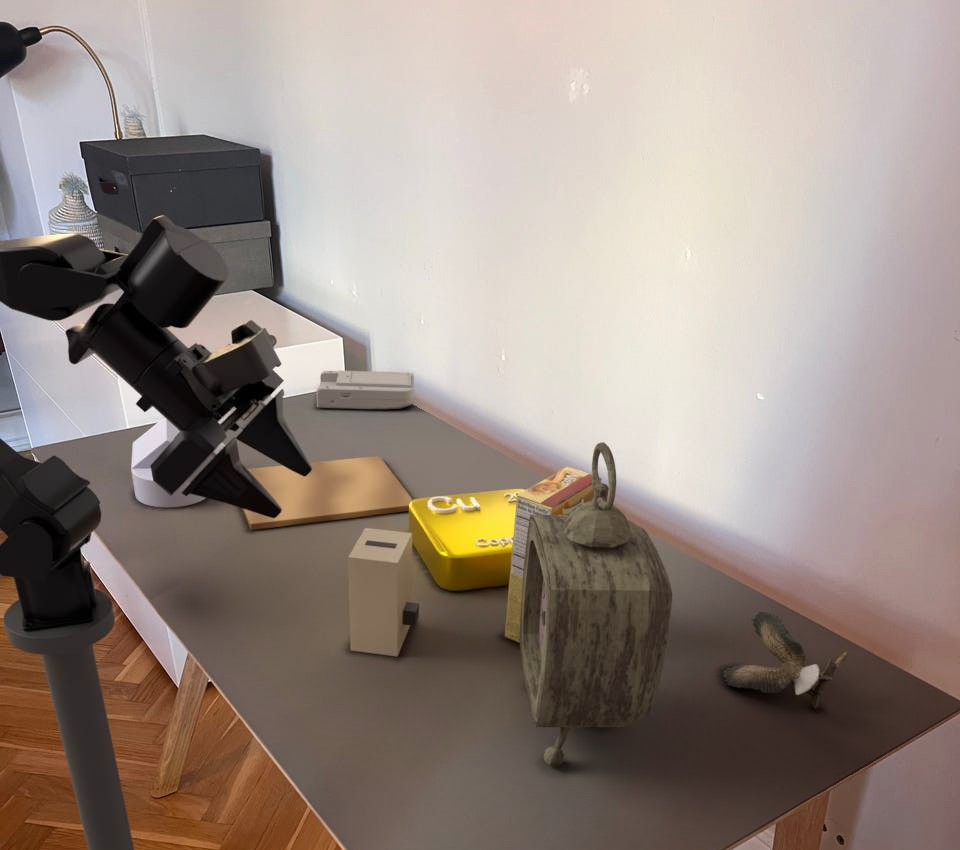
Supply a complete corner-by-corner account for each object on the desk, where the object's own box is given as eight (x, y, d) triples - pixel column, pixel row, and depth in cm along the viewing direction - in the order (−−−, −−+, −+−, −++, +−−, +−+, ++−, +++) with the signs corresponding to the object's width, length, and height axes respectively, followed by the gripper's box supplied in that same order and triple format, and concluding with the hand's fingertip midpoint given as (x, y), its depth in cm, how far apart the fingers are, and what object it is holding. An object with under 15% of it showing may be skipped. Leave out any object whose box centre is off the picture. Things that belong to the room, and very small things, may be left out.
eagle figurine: (839, 669, 88) (751, 623, 91) (857, 639, 81) (762, 590, 84) (800, 735, 86) (712, 686, 89) (815, 709, 79) (719, 657, 82)
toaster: (350, 650, 89) (348, 556, 83) (366, 618, 94) (365, 526, 88) (410, 658, 88) (411, 563, 83) (423, 625, 93) (424, 533, 88)
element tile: (441, 595, 98) (442, 554, 96) (404, 531, 110) (404, 494, 107) (573, 578, 103) (578, 538, 100) (524, 519, 114) (526, 482, 112)
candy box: (550, 602, 98) (564, 464, 90) (585, 616, 96) (603, 476, 88) (502, 638, 92) (513, 493, 84) (539, 653, 90) (554, 507, 82)
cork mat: (250, 530, 108) (250, 524, 108) (229, 476, 121) (228, 470, 120) (416, 510, 115) (416, 504, 115) (379, 461, 128) (379, 455, 127)
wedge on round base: (136, 467, 122) (134, 509, 111) (128, 417, 118) (125, 456, 108) (208, 463, 124) (213, 504, 114) (203, 413, 121) (207, 451, 110)
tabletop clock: (514, 675, 86) (536, 412, 73) (611, 675, 87) (651, 415, 74) (533, 781, 74) (564, 489, 61) (646, 780, 75) (700, 491, 62)
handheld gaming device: (413, 369, 150) (413, 393, 152) (320, 367, 149) (321, 390, 151) (413, 386, 143) (413, 411, 144) (315, 384, 141) (316, 408, 143)
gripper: (164, 327, 69) (323, 478, 73) (250, 274, 84) (377, 401, 89) (84, 425, 73) (238, 560, 78) (180, 357, 89) (303, 473, 94)
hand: (294, 492), depth 85 cm, fingers open, 9 cm apart
